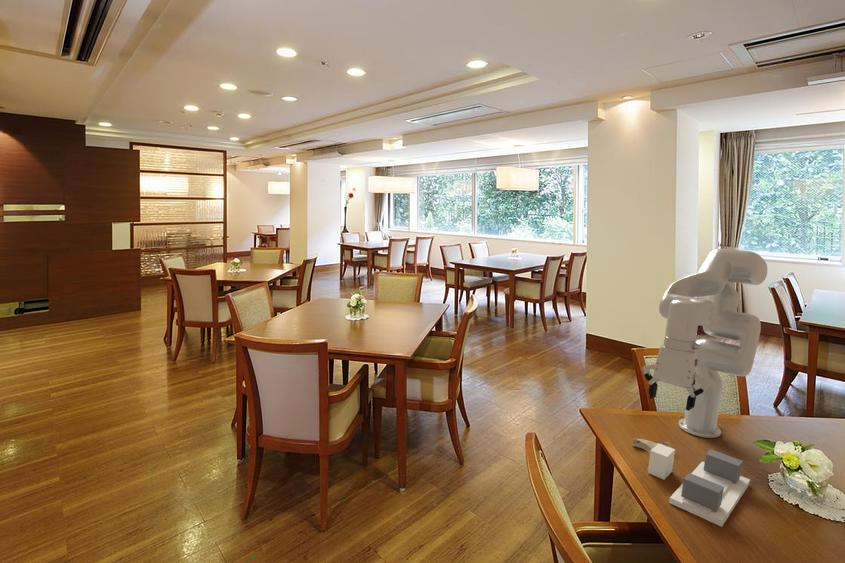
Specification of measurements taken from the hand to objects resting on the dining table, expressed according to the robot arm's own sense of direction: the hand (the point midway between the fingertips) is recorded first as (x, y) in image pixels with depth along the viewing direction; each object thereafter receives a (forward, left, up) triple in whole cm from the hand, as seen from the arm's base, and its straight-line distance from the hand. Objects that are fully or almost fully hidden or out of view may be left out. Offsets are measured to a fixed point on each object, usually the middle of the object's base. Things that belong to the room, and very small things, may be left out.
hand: (670, 403), depth 134 cm
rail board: (+1, +13, -21) cm, 24 cm away
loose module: (+1, 0, -21) cm, 21 cm away
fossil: (-10, -7, -21) cm, 25 cm away
